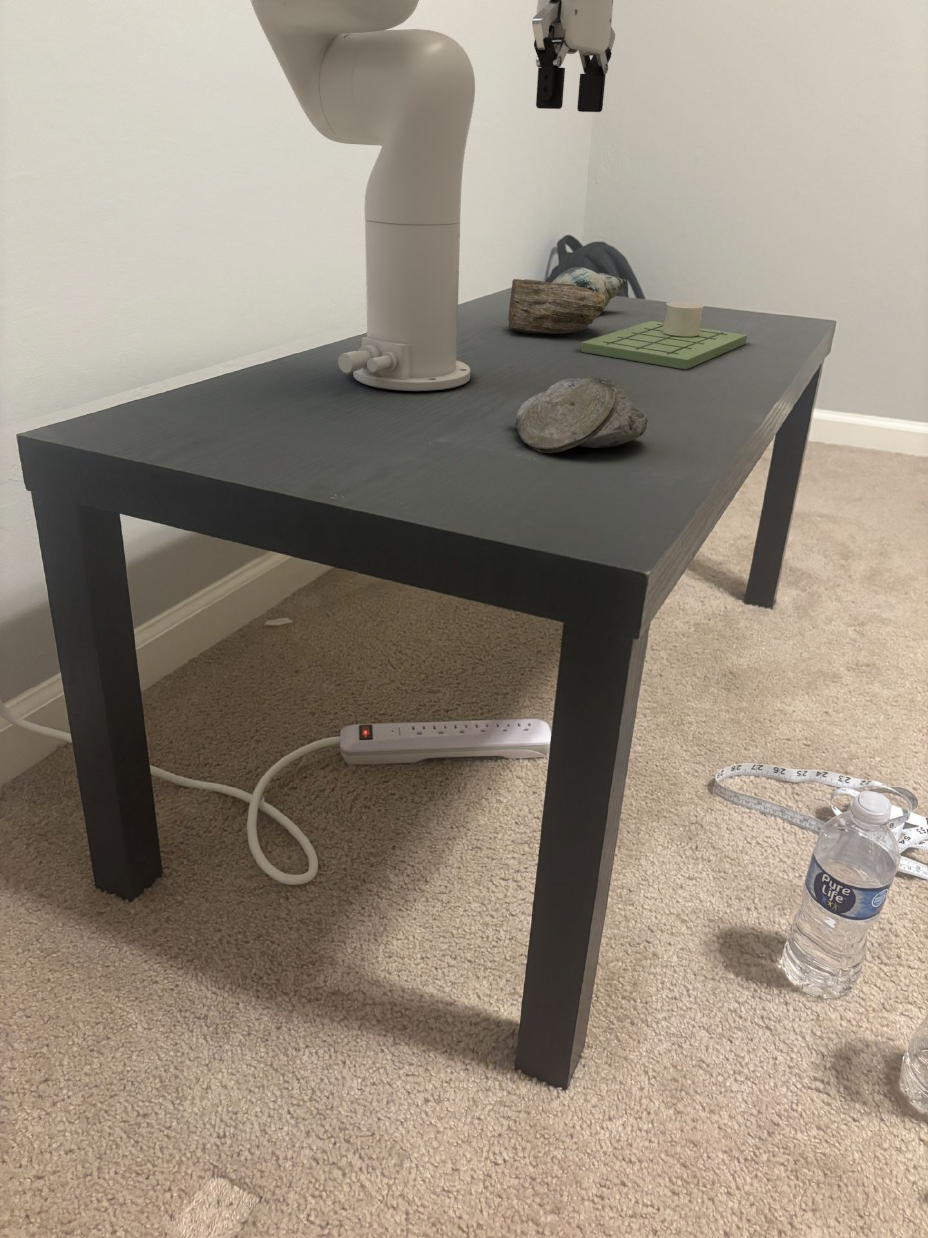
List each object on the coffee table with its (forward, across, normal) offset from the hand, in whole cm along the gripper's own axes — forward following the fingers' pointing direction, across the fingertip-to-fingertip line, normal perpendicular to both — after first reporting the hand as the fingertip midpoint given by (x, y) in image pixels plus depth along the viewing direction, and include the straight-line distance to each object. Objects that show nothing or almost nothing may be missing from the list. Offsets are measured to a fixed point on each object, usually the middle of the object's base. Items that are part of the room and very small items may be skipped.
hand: (569, 109), depth 107 cm
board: (+26, -5, +14) cm, 30 cm away
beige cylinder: (+25, -9, +14) cm, 30 cm away
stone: (+26, -4, -2) cm, 27 cm away
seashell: (+26, -20, -7) cm, 34 cm away
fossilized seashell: (+26, +38, +25) cm, 53 cm away
